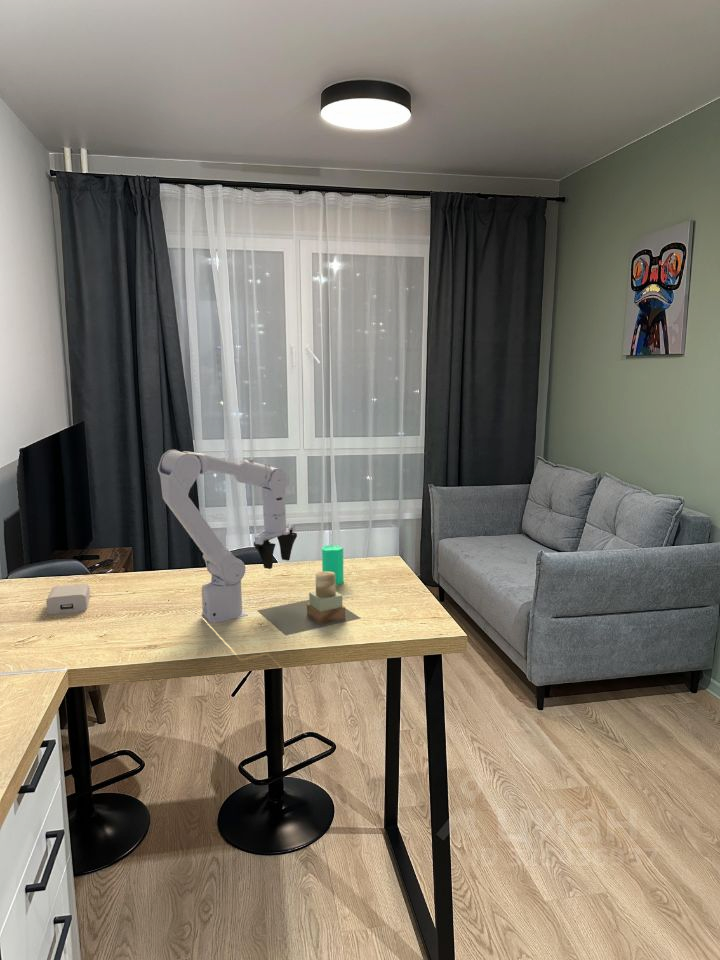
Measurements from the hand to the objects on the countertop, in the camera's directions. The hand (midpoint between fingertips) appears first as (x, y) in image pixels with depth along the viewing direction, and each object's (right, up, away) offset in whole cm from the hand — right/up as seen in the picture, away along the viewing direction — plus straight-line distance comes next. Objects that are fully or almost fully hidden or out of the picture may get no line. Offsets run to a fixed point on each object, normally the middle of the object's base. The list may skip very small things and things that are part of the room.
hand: (277, 563), depth 174 cm
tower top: (+13, -9, -11) cm, 19 cm away
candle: (+14, -8, +16) cm, 23 cm away
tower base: (+13, -12, -10) cm, 20 cm away
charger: (-55, -11, +2) cm, 56 cm away
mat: (+9, -12, -8) cm, 17 cm away
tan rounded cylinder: (+13, -6, -11) cm, 18 cm away
